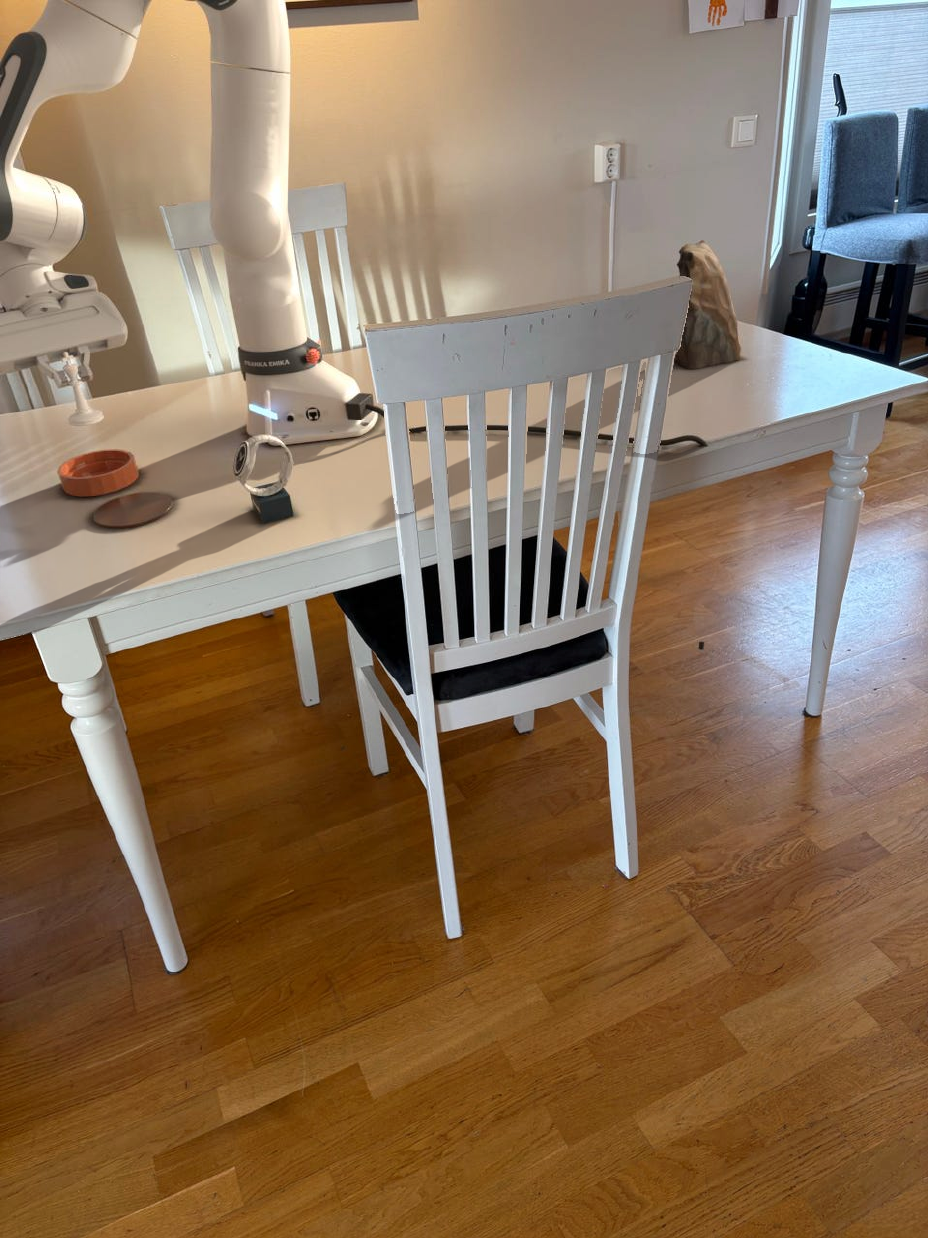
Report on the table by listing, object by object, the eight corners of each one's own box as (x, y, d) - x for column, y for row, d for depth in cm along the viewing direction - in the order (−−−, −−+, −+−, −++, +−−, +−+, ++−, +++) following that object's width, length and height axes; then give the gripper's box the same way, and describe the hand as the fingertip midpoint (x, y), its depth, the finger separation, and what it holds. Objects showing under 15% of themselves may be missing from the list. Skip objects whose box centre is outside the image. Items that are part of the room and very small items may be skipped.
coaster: (182, 493, 134) (181, 490, 134) (158, 527, 125) (157, 524, 124) (111, 496, 135) (110, 493, 134) (81, 530, 126) (80, 527, 125)
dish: (149, 466, 144) (144, 447, 142) (123, 496, 134) (117, 476, 132) (81, 469, 144) (75, 450, 143) (51, 499, 135) (44, 480, 133)
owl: (686, 371, 165) (693, 256, 154) (649, 354, 175) (654, 245, 164) (743, 359, 168) (755, 246, 157) (704, 343, 178) (712, 235, 167)
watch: (239, 512, 127) (223, 438, 121) (294, 498, 130) (281, 425, 124) (249, 527, 123) (233, 451, 117) (306, 512, 125) (292, 438, 119)
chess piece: (111, 416, 133) (90, 349, 127) (83, 428, 129) (61, 359, 124) (89, 412, 135) (69, 345, 130) (62, 423, 132) (39, 355, 126)
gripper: (-45, 302, 122) (-2, 388, 121) (103, 273, 132) (145, 352, 131) (-39, 330, 128) (2, 412, 126) (102, 299, 138) (142, 376, 136)
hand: (76, 381), depth 129 cm, fingers closed on chess piece
